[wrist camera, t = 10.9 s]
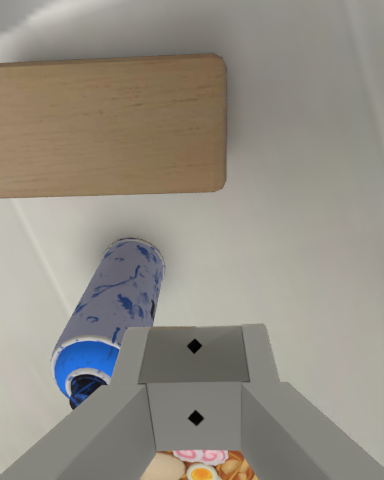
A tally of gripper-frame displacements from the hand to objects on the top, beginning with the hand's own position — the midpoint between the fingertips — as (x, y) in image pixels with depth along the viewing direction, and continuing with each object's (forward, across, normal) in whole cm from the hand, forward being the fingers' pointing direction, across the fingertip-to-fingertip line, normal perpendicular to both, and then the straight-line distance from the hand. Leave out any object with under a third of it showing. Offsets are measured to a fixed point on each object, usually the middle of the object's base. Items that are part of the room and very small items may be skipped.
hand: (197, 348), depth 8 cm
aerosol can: (+32, +9, +15) cm, 36 cm away
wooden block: (+26, -2, -2) cm, 26 cm away
